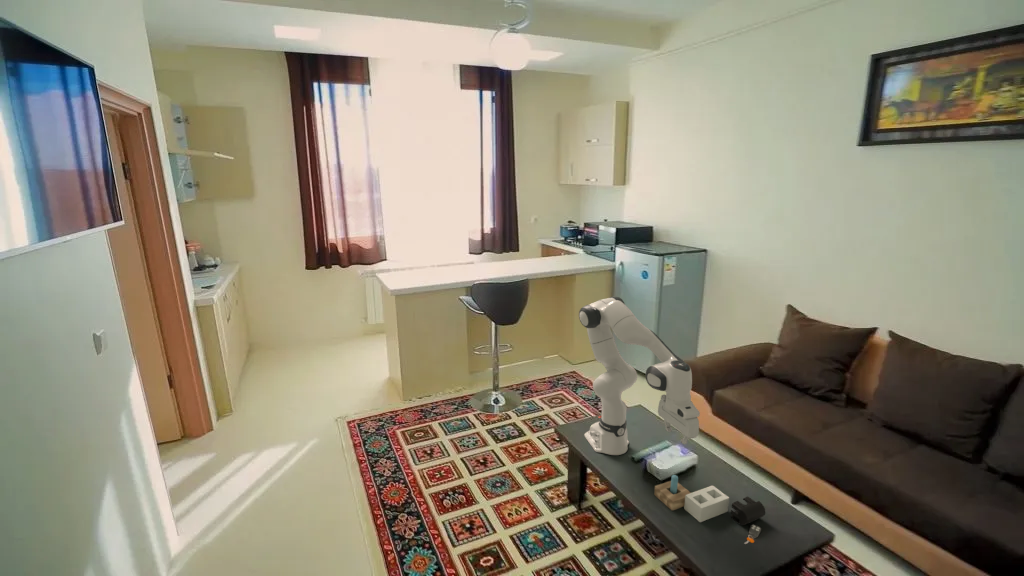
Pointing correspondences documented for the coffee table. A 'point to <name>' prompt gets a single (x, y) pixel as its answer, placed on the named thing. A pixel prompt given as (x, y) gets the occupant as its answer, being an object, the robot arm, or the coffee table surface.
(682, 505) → the mount block
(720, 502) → the white cinder block
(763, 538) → the coffee table surface
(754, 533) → the key chain
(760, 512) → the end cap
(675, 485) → the pin
